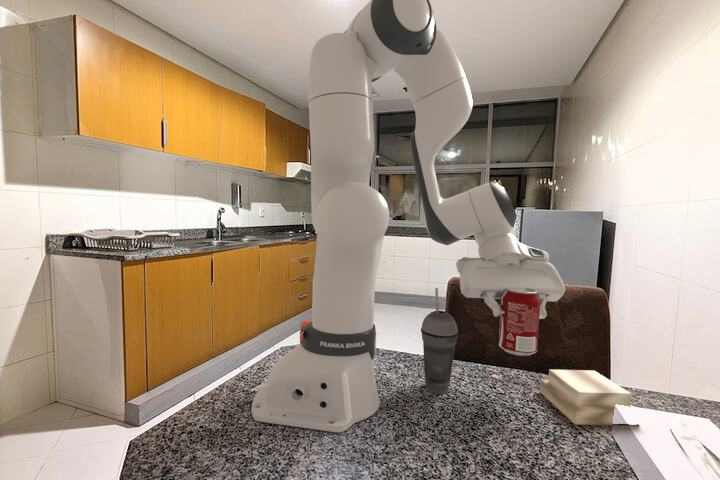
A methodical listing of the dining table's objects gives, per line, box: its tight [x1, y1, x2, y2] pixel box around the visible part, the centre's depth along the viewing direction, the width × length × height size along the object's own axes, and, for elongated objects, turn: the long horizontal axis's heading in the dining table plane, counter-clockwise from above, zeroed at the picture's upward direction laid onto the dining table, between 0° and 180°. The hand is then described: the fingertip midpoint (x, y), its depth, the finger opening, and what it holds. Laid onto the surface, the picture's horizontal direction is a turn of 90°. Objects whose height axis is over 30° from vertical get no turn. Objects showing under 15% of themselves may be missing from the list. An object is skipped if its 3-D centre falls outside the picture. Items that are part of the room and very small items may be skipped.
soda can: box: [498, 287, 540, 357], centre depth 66 cm, size 7×7×12 cm
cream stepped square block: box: [539, 368, 635, 426], centre depth 63 cm, size 11×11×5 cm
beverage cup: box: [420, 287, 459, 395], centre depth 68 cm, size 7×7×20 cm
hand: (520, 316), depth 66 cm, fingers closed on soda can, 7 cm apart
